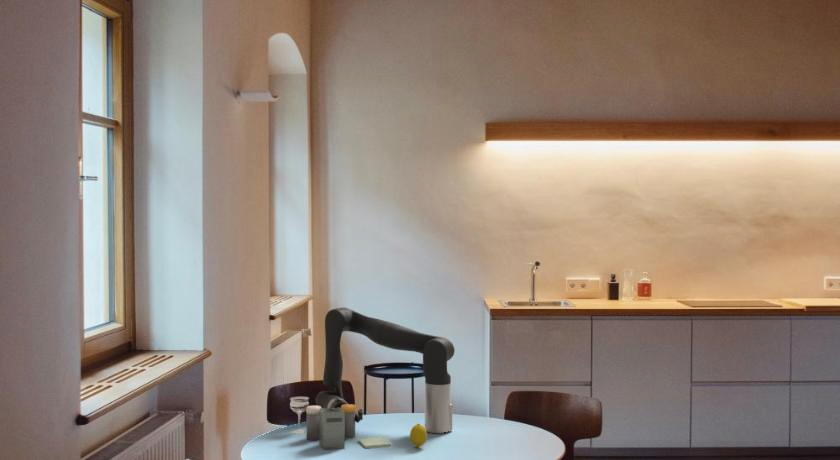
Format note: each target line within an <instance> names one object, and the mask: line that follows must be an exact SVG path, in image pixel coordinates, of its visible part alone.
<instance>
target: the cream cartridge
mask: <svg viewBox="0 0 840 460" xmlns="http://www.w3.org/2000/svg"><path fill="white" fill-rule="evenodd" d="M320 409H321V406H317V405H309V406H307V407H306V411H305V412H306V434H305V435H306V436H305V437H306V439H305V440H306V441H308V442H316V441H318V442H319V420H320Z"/></svg>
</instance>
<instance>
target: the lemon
mask: <svg viewBox="0 0 840 460" xmlns="http://www.w3.org/2000/svg"><path fill="white" fill-rule="evenodd" d="M427 433H428V432H427V431H426V429H425V426H424V425H422V424H421V423H417V424H415V425H414V426H412V427H411V430H410V433H409V434H410V435H409V438H410V439H409V440H410V442H411V444H412V445H413V446H415V447H416V448H417V449H420V448H421V447H422V446H424V445H425V444H426V442H427V439H428V435H427Z"/></svg>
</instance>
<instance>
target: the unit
mask: <svg viewBox="0 0 840 460" xmlns="http://www.w3.org/2000/svg"><path fill="white" fill-rule="evenodd" d="M345 440H346V439H345V411H343V410H342V409H341V408H340V407H338V408H321V409H320V420H319V440H318V445H319V446H320V447H321V449H322V450H323V451H327V450H339V449H341V450H342V449H345V446H346V445H345V444H346V443H345Z"/></svg>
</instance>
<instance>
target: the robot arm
mask: <svg viewBox="0 0 840 460" xmlns="http://www.w3.org/2000/svg"><path fill="white" fill-rule="evenodd" d="M343 332H350V333H355V334H359V335H363V336H365V337H366V338H368V339H369V340H370V341H371V342H372V343H375V344H377V345H379V346H381V347H385V348H388V349H391V350H397V351H404V352H405V351H406V352H414V353H419V354H422V371H423V376H424V381H425V382H424V428H425V429H426V433H430V434H431V433H432V434H445V433H444V432H446V433H449V432H452V431H453V404H452V403H451V395H452V394H451V393H452V391H451V387H452V385H451V383H452V382H451V379H452V377H451V374H449V372H448V361H450V360H451V359H452V358H453V357H454V355H455V347H454V344H453V343H452V342H451V341H450V339H448V338H445V337H444V336H443V337H442V336H438V335H431V334H427V333H422V332H419V331H416V330H414V329H411V328H408V327H406V326H402V325H400V324H398V323H394V322H391V321H387V320H382V319H379V318H375V317H370V316H367V315H364V314H362V313H360V312H357V311H355V310H352V309H350V308H348V307H337V308H333V309H330V310H329V311H328V312H327V313H326V315H325V317H324V334H325V336H324V337H325V338H324V339H325V361H324V369H323V378H322V382H323V383H322V384H323V385H324V386H327V387H330V388H333V389H334V391H332V390H331V391H328V390H326V391H325V390H323V391H320V392H317V393H318V394H317V395H316V397H315V404H316V405H315V406H321V408H338V407H340V408H341V405H344V404H349V403H348V402H347V401H346V400H345V399H344V395H343V394H344V393H343V389H342V388H343V387H342V380H343V379H342V377H343V370H344V361H343V356H342V352H341V351H342V350H341V339H342V335H343ZM363 413H364V411H363V409H362V408H360V409H358V410H357V411H356V412H355V423H360V422H361V421H362V420H363V418H364V417H363ZM451 430H452V431H451ZM448 431H449V432H448Z"/></svg>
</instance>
